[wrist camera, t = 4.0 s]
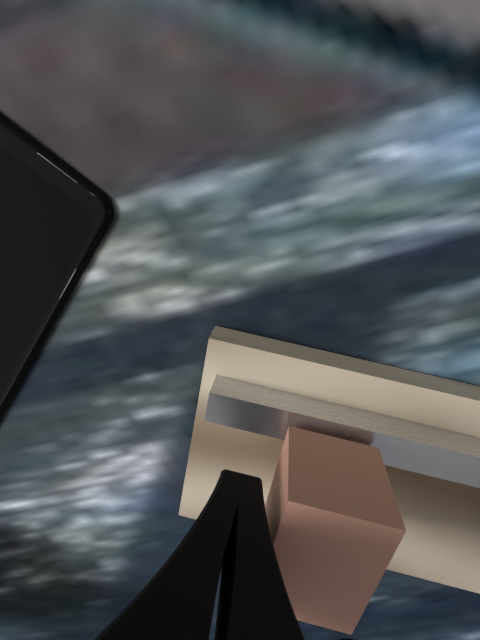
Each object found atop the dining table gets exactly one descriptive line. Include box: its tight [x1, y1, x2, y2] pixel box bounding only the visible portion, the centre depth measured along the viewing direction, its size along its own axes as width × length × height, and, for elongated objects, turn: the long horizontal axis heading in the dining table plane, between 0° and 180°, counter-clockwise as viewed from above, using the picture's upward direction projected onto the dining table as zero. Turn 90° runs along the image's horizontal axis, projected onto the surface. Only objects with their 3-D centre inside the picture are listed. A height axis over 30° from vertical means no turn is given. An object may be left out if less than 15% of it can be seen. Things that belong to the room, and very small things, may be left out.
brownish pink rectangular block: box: [265, 426, 406, 635], centre depth 12 cm, size 5×3×4 cm, turn 169°
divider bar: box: [204, 375, 480, 488], centre depth 12 cm, size 1×19×1 cm, turn 79°
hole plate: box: [179, 326, 480, 594], centre depth 14 cm, size 9×20×1 cm, turn 79°
